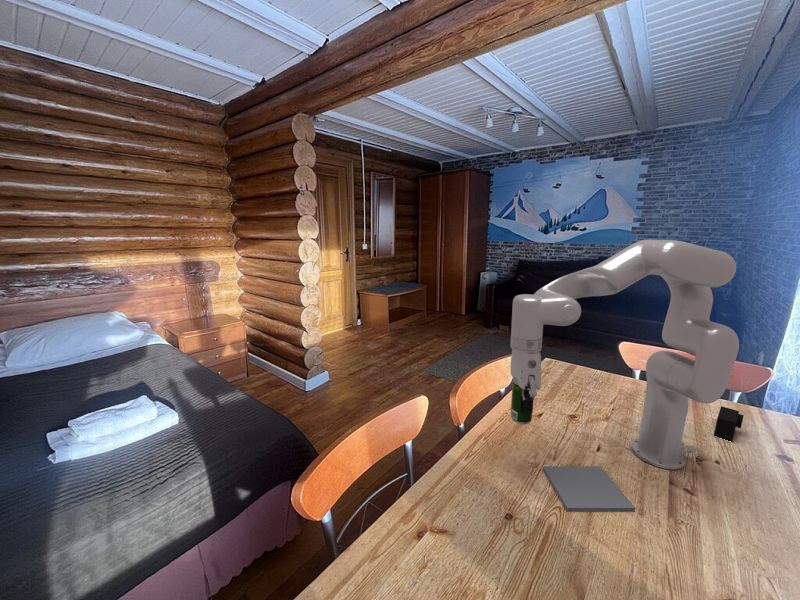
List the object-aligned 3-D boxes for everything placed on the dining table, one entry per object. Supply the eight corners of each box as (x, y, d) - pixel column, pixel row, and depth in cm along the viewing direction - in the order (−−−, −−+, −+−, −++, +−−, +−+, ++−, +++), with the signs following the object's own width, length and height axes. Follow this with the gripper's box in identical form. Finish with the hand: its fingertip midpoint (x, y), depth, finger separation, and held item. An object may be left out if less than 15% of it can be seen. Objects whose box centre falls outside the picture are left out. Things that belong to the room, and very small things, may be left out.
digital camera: (737, 445, 102) (742, 424, 100) (713, 437, 106) (717, 417, 104) (739, 431, 109) (744, 412, 107) (717, 424, 113) (721, 405, 111)
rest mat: (600, 469, 92) (600, 466, 91) (635, 511, 78) (635, 508, 78) (542, 469, 92) (542, 466, 91) (566, 511, 78) (567, 507, 78)
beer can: (523, 427, 86) (525, 385, 84) (506, 418, 90) (508, 377, 88) (535, 420, 89) (538, 379, 86) (518, 412, 93) (521, 372, 91)
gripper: (555, 354, 77) (549, 424, 80) (528, 332, 93) (524, 391, 97) (523, 355, 77) (518, 425, 81) (501, 332, 94) (498, 391, 97)
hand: (521, 405), depth 89 cm, fingers closed on beer can, 5 cm apart
